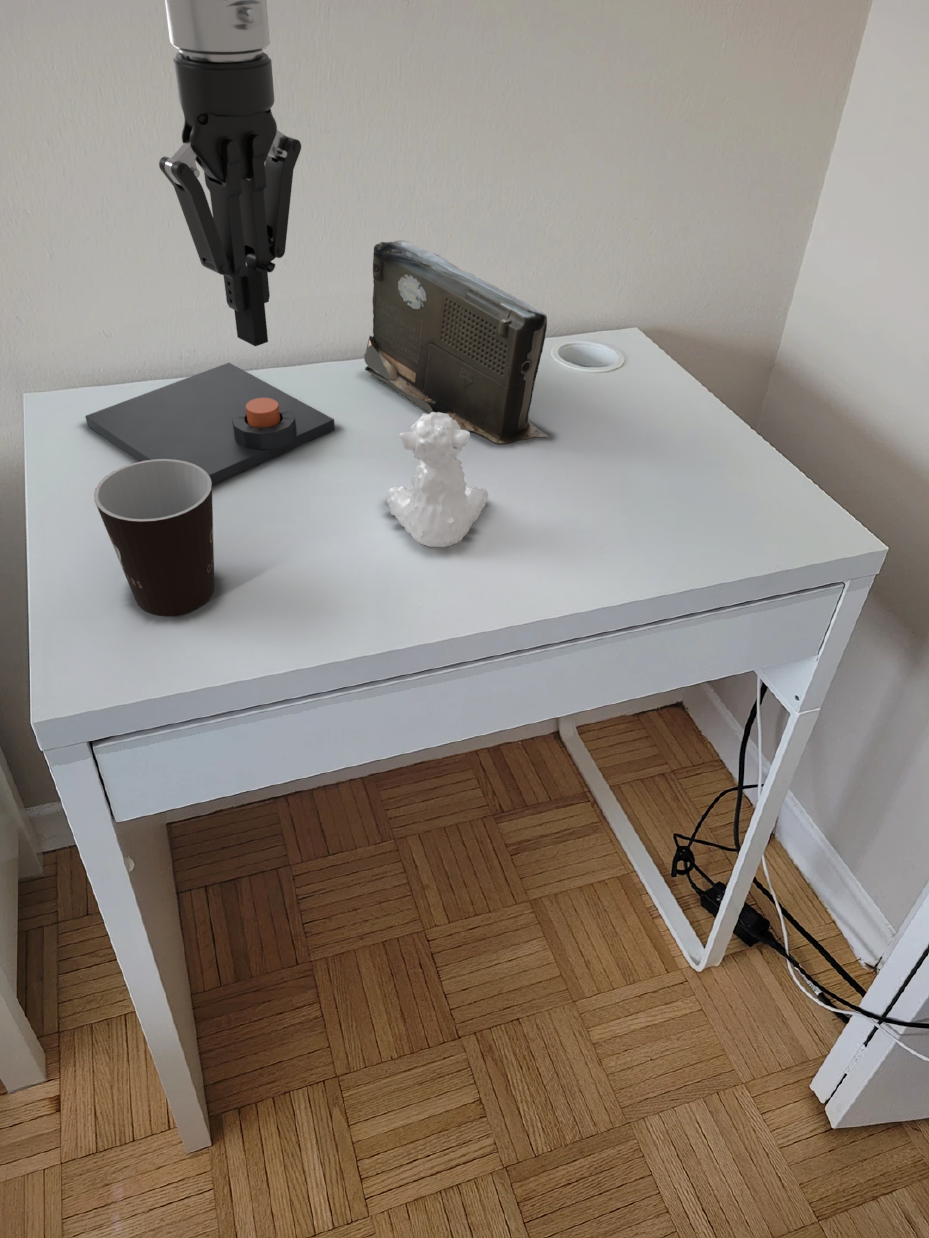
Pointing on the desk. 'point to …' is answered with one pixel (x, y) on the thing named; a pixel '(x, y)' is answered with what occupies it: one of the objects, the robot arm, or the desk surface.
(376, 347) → the radio
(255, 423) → the button
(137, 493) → the coffee mug
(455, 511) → the sitting furry creature
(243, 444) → the scale
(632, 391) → the desk surface
